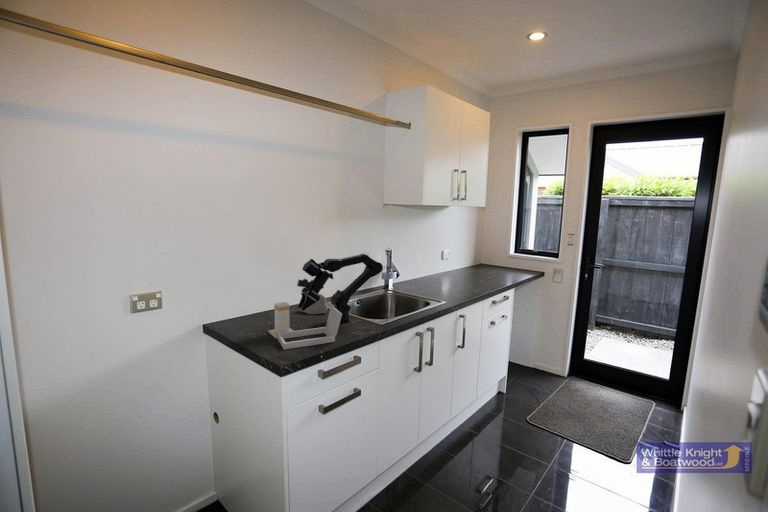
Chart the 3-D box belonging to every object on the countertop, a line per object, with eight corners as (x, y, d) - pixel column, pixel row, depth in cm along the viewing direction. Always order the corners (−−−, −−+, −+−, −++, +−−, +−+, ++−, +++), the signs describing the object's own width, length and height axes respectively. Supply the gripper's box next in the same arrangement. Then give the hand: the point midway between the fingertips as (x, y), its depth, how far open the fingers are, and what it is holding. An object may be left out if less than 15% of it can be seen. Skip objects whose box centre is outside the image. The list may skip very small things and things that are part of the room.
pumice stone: (298, 313, 199) (298, 295, 198) (305, 309, 206) (305, 291, 205) (324, 316, 195) (324, 297, 194) (330, 312, 203) (330, 294, 201)
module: (285, 328, 172) (284, 301, 170) (289, 332, 168) (289, 304, 166) (274, 330, 169) (274, 303, 167) (279, 334, 165) (278, 306, 163)
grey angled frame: (332, 330, 173) (332, 305, 171) (342, 340, 162) (342, 313, 160) (277, 338, 161) (277, 311, 160) (283, 349, 150) (283, 320, 148)
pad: (288, 327, 176) (288, 326, 176) (297, 333, 168) (297, 332, 168) (267, 331, 170) (267, 330, 170) (275, 338, 162) (275, 337, 162)
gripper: (302, 271, 184) (283, 297, 181) (308, 273, 167) (288, 302, 163) (320, 284, 187) (302, 309, 184) (328, 286, 170) (309, 315, 167)
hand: (300, 309), depth 174 cm, fingers open, 9 cm apart
